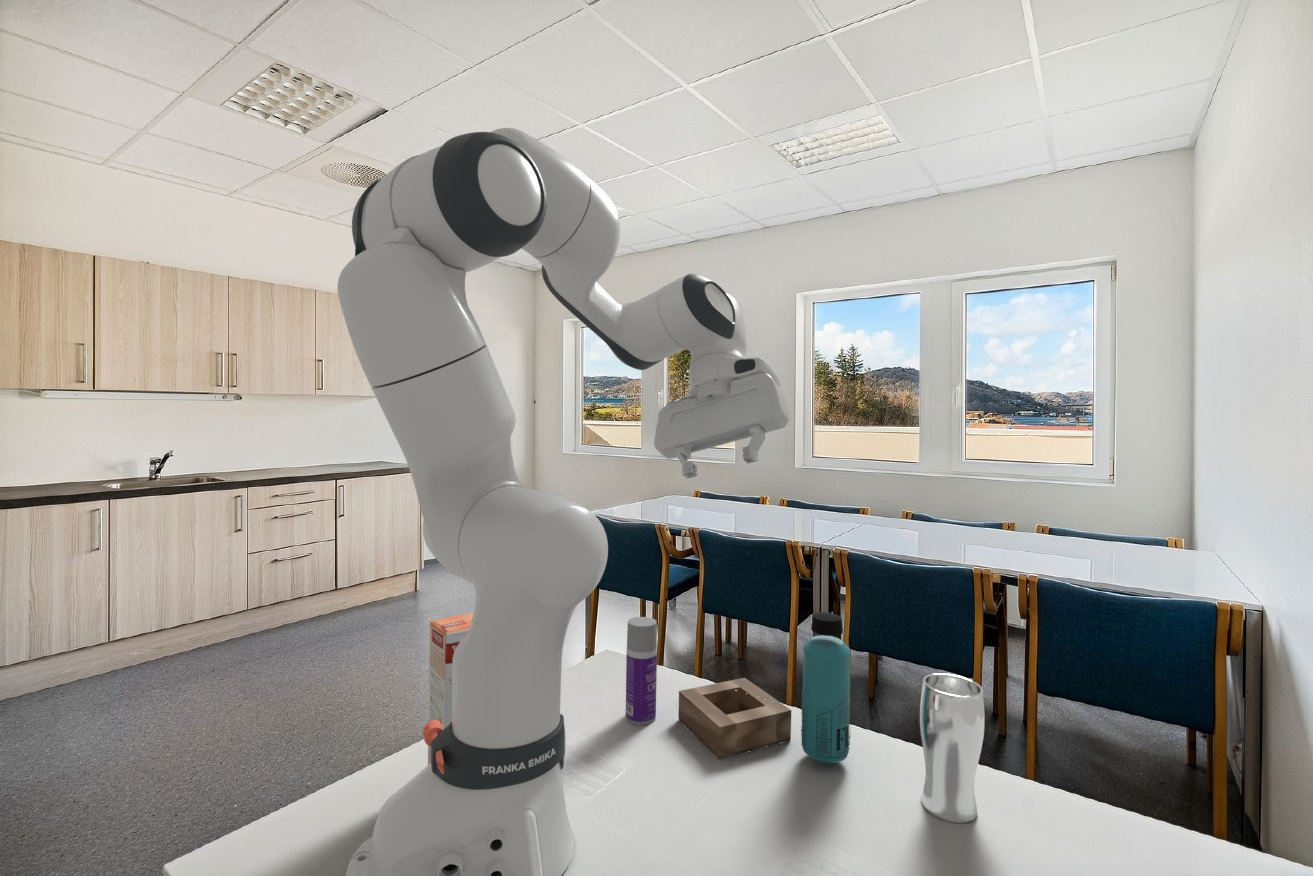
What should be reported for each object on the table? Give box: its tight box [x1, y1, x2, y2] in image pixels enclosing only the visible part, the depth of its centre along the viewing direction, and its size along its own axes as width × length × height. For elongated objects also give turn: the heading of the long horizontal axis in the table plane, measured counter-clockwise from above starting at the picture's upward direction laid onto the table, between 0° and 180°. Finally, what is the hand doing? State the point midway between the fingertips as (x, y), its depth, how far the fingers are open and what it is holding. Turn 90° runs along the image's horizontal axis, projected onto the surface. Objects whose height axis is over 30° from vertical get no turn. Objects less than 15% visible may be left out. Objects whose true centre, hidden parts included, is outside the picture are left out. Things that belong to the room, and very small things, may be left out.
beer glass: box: [919, 672, 985, 824], centre depth 74 cm, size 7×7×15 cm
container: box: [625, 616, 658, 726], centre depth 94 cm, size 5×5×15 cm
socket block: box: [677, 677, 792, 761], centre depth 91 cm, size 12×12×4 cm
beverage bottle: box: [800, 612, 852, 763], centre depth 83 cm, size 6×7×20 cm
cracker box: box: [427, 612, 474, 766], centre depth 78 cm, size 14×6×21 cm, turn 129°
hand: (719, 468), depth 84 cm, fingers open, 8 cm apart
